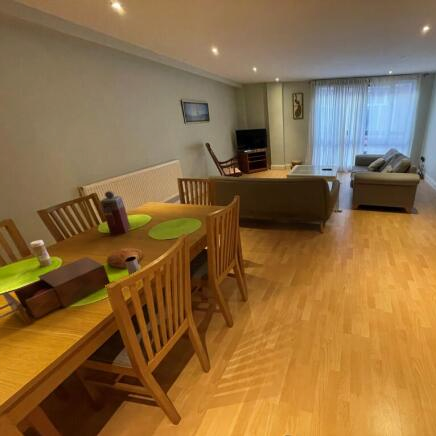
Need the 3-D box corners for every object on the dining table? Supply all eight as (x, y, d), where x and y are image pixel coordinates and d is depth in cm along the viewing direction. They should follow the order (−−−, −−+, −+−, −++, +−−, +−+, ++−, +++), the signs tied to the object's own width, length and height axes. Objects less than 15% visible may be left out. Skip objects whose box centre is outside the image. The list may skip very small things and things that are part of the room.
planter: (137, 273, 116) (131, 255, 112) (143, 276, 114) (138, 257, 110) (128, 279, 112) (122, 260, 108) (135, 281, 110) (129, 262, 106)
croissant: (123, 276, 118) (119, 263, 114) (102, 264, 123) (98, 252, 119) (149, 260, 130) (147, 248, 126) (130, 251, 135) (127, 239, 131)
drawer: (4, 337, 81) (-9, 317, 78) (-10, 322, 87) (-22, 303, 84) (79, 298, 99) (71, 280, 95) (63, 288, 104) (55, 271, 101)
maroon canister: (109, 236, 153) (95, 194, 142) (116, 229, 163) (103, 189, 152) (124, 235, 155) (112, 193, 144) (130, 228, 165) (119, 188, 154)
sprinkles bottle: (48, 267, 122) (37, 243, 117) (38, 267, 121) (26, 244, 116) (55, 262, 126) (44, 239, 121) (45, 262, 125) (34, 240, 120)
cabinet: (64, 309, 94) (54, 287, 90) (48, 297, 101) (37, 276, 97) (111, 285, 108) (103, 264, 104) (93, 275, 115) (86, 256, 110)
